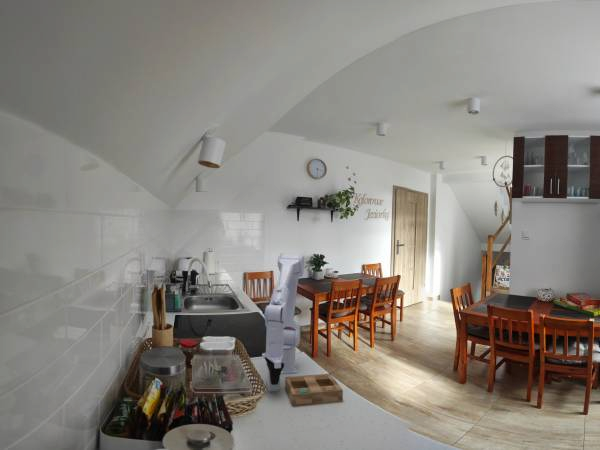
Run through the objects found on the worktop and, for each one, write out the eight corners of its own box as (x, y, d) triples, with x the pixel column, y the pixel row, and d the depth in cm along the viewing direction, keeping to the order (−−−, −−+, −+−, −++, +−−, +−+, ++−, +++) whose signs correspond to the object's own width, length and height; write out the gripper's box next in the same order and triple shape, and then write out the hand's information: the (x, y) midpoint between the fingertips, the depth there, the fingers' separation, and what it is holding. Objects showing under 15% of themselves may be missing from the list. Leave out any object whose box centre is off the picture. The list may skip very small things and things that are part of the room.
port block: (285, 387, 109) (285, 376, 109) (330, 383, 113) (330, 372, 113) (292, 406, 98) (292, 394, 98) (342, 401, 101) (342, 389, 101)
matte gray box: (267, 386, 110) (267, 365, 110) (277, 385, 110) (278, 364, 111) (268, 391, 106) (269, 370, 106) (279, 390, 107) (280, 369, 107)
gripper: (260, 334, 115) (259, 372, 114) (265, 348, 101) (264, 392, 100) (279, 333, 116) (278, 371, 116) (288, 347, 102) (286, 390, 102)
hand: (273, 381), depth 108 cm, fingers closed on matte gray box, 4 cm apart
